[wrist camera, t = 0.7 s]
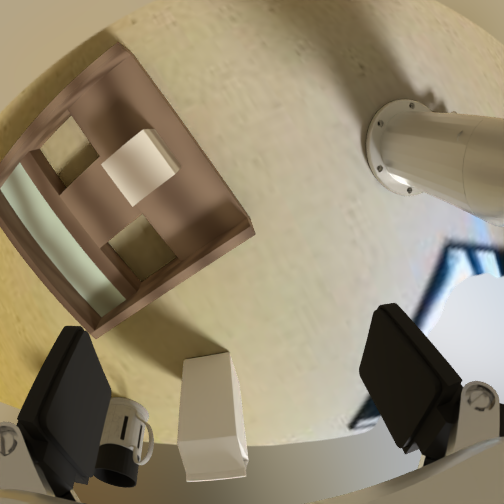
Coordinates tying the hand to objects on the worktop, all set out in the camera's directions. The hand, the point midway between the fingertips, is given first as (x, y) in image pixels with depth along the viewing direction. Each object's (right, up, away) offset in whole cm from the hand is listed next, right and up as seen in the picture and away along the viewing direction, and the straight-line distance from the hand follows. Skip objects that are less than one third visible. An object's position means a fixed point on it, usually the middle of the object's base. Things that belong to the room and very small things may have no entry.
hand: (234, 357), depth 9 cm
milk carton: (-6, -15, +36) cm, 39 cm away
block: (-10, +13, +20) cm, 26 cm away
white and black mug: (-21, -25, +38) cm, 50 cm away
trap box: (-16, +10, +24) cm, 30 cm away
